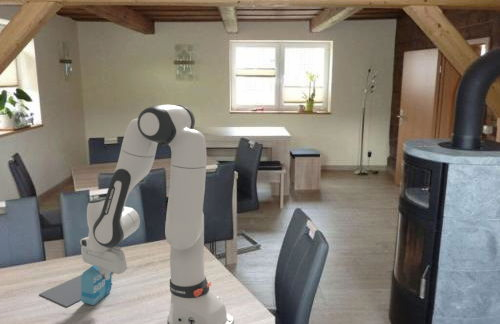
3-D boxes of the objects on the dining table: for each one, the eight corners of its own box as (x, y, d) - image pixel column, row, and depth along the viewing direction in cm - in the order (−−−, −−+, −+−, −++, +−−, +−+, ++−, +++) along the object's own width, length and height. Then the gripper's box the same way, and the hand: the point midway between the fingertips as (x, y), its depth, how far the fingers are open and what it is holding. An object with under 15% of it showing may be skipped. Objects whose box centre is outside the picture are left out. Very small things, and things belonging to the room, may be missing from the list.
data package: (91, 307, 149) (91, 276, 146) (81, 304, 150) (80, 273, 147) (111, 290, 160) (112, 261, 157) (101, 288, 161) (101, 259, 158)
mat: (112, 284, 165) (112, 283, 165) (66, 307, 149) (66, 306, 148) (85, 274, 174) (85, 273, 174) (39, 294, 158) (39, 293, 158)
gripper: (129, 245, 144) (132, 282, 147) (91, 234, 155) (94, 268, 158) (115, 251, 139) (118, 290, 142) (76, 239, 150) (80, 275, 153)
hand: (105, 278), depth 150 cm, fingers closed
